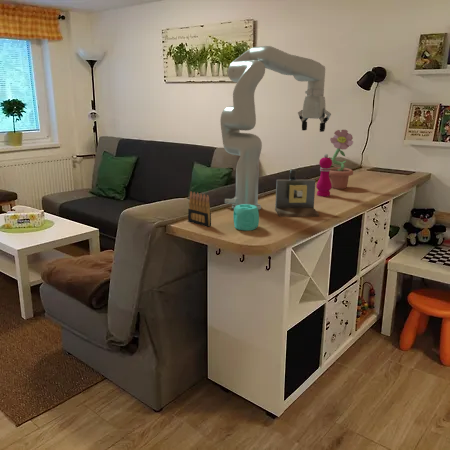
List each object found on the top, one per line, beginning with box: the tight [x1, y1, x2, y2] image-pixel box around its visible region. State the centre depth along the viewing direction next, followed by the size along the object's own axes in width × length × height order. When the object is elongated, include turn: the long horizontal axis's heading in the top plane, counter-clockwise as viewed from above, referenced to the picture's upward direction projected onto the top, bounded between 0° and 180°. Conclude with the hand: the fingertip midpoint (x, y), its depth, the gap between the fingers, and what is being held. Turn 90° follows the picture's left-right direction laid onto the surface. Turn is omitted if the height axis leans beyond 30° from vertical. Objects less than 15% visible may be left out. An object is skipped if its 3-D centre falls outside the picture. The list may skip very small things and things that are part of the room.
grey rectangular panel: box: [275, 179, 316, 209], centre depth 191 cm, size 16×2×12 cm, turn 93°
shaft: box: [288, 169, 302, 197], centre depth 189 cm, size 3×17×8 cm, turn 3°
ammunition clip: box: [187, 191, 212, 228], centre depth 171 cm, size 11×2×12 cm, turn 47°
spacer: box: [289, 185, 307, 203], centre depth 186 cm, size 7×2×7 cm, turn 93°
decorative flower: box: [328, 129, 354, 190], centre depth 235 cm, size 15×14×30 cm
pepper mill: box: [315, 153, 333, 197], centre depth 219 cm, size 7×7×20 cm
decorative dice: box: [232, 204, 260, 232], centre depth 167 cm, size 8×8×8 cm
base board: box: [274, 207, 320, 218], centre depth 188 cm, size 16×11×1 cm
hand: (313, 130), depth 215 cm, fingers open, 9 cm apart
